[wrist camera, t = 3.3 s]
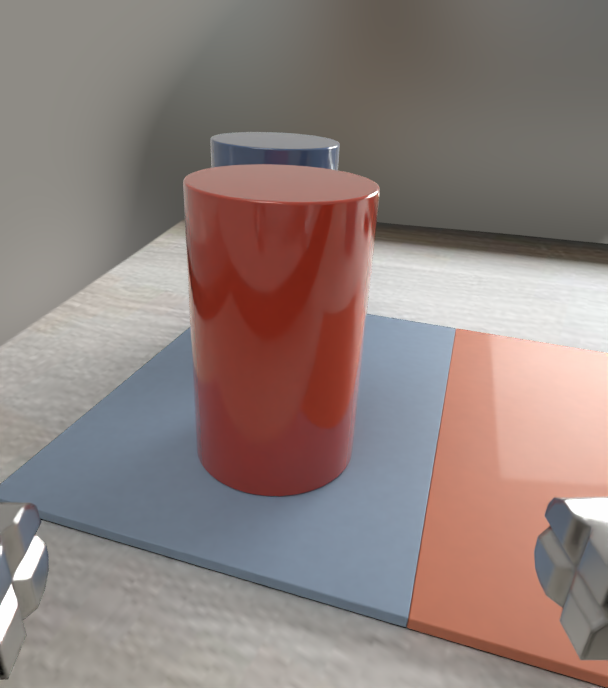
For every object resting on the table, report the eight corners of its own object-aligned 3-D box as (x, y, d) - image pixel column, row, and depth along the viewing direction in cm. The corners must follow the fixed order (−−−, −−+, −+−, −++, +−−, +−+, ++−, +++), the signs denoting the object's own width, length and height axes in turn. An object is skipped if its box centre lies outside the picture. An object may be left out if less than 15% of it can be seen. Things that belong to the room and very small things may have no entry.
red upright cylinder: (167, 473, 20) (143, 187, 15) (234, 391, 25) (232, 158, 21) (329, 515, 18) (356, 212, 14) (366, 418, 24) (394, 174, 19)
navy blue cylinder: (196, 346, 29) (186, 141, 24) (242, 304, 34) (241, 128, 29) (307, 367, 27) (319, 153, 23) (337, 320, 32) (352, 138, 28)
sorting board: (-11, 503, 19) (-14, 494, 19) (232, 297, 36) (232, 291, 36) (950, 791, 12) (961, 781, 12) (686, 372, 29) (689, 365, 29)
